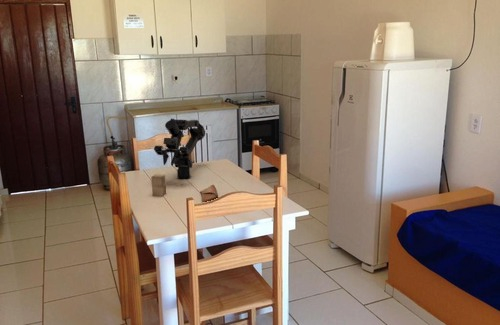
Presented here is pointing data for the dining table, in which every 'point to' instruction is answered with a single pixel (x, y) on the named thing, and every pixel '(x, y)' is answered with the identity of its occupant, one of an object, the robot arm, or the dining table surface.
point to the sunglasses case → (209, 194)
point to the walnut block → (158, 185)
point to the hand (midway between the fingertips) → (167, 164)
